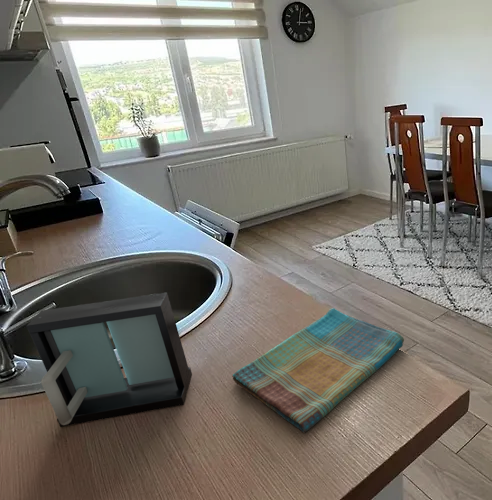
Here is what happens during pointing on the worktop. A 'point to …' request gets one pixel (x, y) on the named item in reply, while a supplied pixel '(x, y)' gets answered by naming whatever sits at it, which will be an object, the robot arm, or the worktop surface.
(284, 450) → the worktop surface
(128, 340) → the window frame
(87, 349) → the pane
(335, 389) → the dish towel
